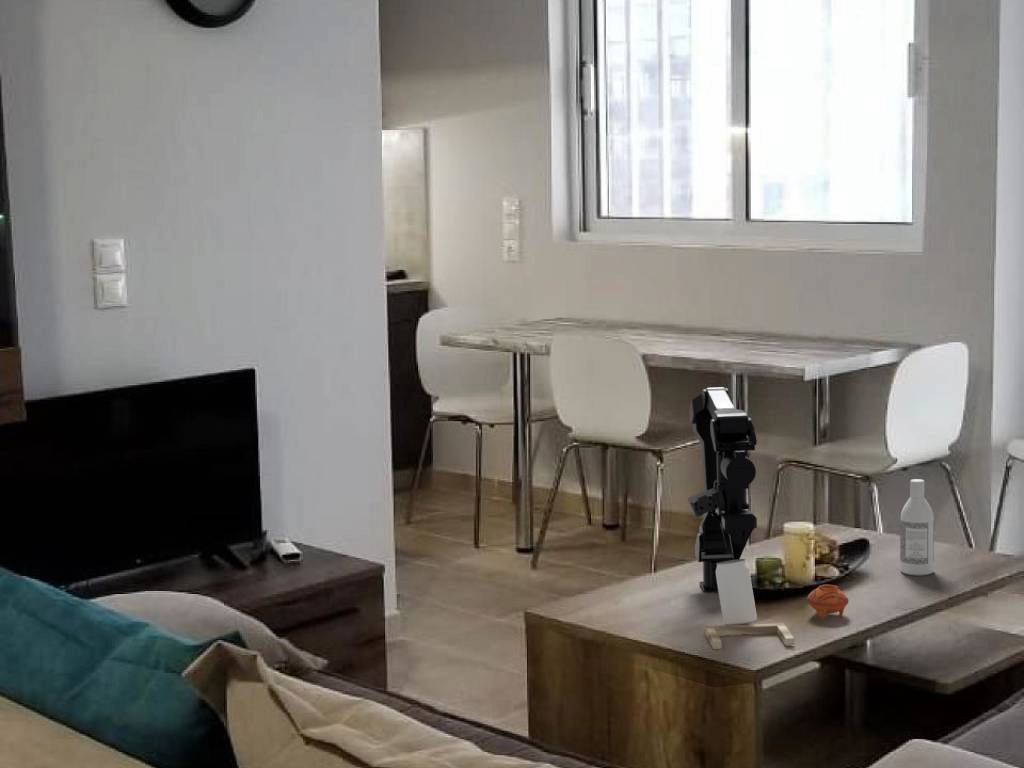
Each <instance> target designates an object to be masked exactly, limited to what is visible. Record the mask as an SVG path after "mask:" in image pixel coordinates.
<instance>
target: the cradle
mask: <svg viewBox="0 0 1024 768" xmlns="http://www.w3.org/2000/svg"><path fill="white" fill-rule="evenodd" d="M771 633H777V634H776V635H778V637H779V636H780V637H779V638H780V640H781V639H782V640H781V641H782V642H784V643H783V644H784V645H786V646H785V647H793V646H792V645H794V646H795V638H794V636H793V634H792V633H791V632H790V630H789V629H788V627H787V626H786V624H785V623H783V622H781V623H760V624H759V623H755V624H754V623H752V624H742V625H730V626H726V625H711V626H704V634H705V636H706V638H707V640H708V642H709V644H710V646H711V645H712V646H711V647H713V648H712V649H713V650H722V640H721V637H723V636H724V637H727V636H726V635H730V636H743V635H742V634H754V635H772V634H771ZM789 645H791V646H789Z"/></svg>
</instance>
